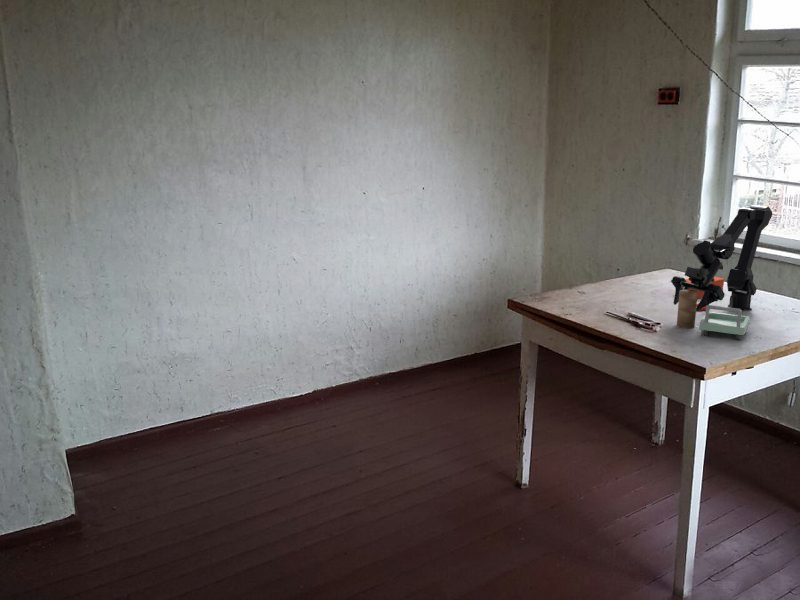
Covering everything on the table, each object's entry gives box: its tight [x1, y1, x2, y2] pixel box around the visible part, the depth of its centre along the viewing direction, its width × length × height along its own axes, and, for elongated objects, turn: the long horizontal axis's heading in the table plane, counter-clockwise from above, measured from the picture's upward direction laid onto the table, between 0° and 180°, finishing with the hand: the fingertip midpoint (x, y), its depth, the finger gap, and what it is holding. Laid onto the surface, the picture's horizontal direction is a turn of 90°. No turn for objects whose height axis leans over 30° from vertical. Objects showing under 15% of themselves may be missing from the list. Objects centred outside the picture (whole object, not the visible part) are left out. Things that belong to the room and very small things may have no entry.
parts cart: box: [698, 304, 751, 341], centre depth 259 cm, size 14×14×11 cm
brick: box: [685, 276, 725, 300], centre depth 308 cm, size 18×9×6 cm, turn 123°
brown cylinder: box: [676, 289, 698, 329], centre depth 268 cm, size 6×6×12 cm
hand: (685, 306), depth 267 cm, fingers open, 9 cm apart
